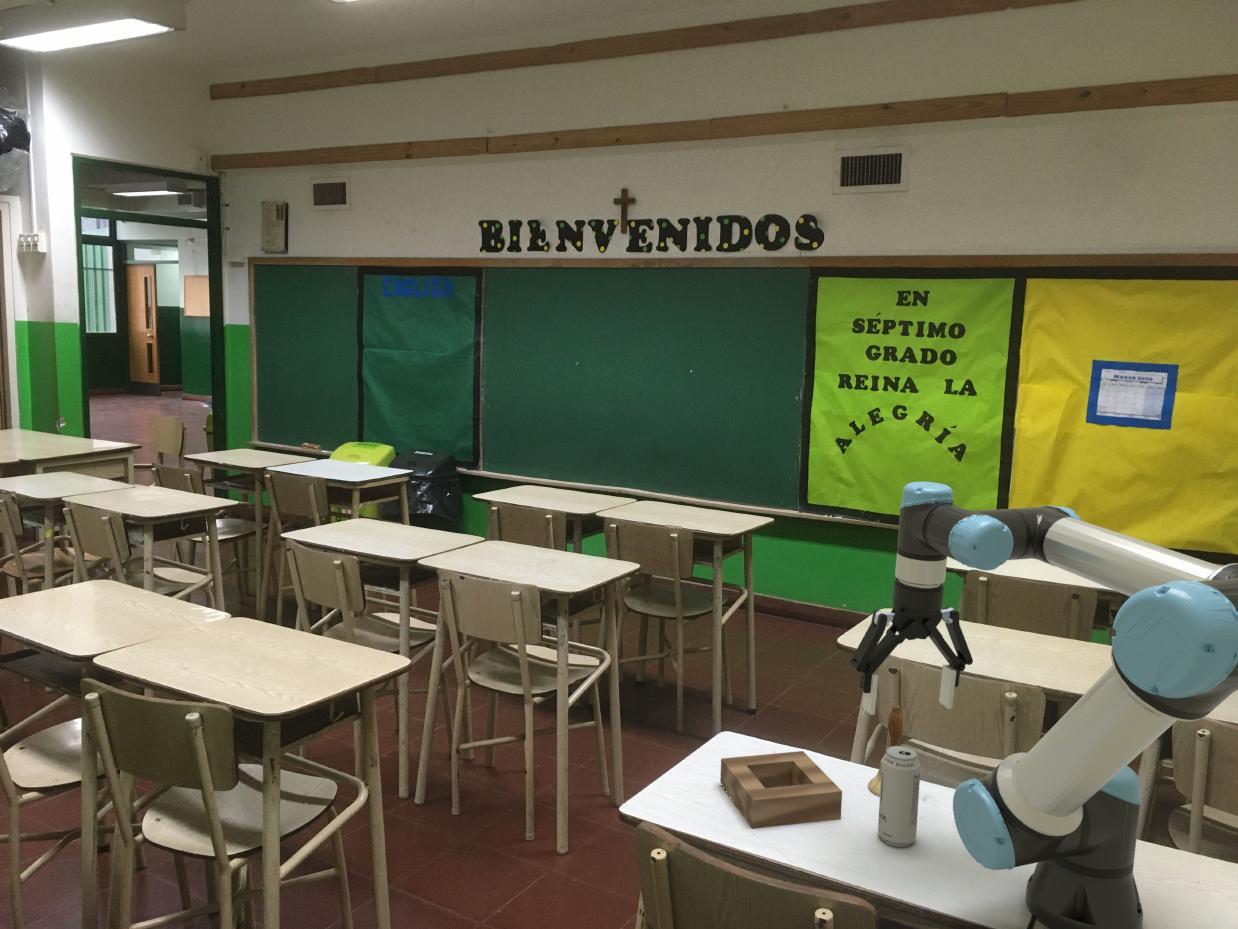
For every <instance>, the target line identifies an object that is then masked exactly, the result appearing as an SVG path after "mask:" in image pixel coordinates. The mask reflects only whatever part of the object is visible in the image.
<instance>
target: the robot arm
mask: <svg viewBox="0 0 1238 929" xmlns="http://www.w3.org/2000/svg"><path fill="white" fill-rule="evenodd" d="M954 501H955V500H954V490H953V489H952V488H951V486H950V485H947V484H944V483H939V482H932V481H913V482H909V483H907V484H905V486H904V487H903V488H902V495H901V502H900V506H899V521H898V532H897V533H898V534H897V547H896V548H897V550H896V560H895V572H894V576H895V577H896V578H895V580H894V582H893V591H892V592H893V593H892V609H891V611H890V612H883V611H881V610H879V609H874V610H873V613H872V616H871V622H870V624H869V626H868V628H867V630H866V632H865V634H864V635H863V637H862V638H861V641H860V642H859V644H858V646H857V648H856V650H855V652H854V654H853V655H852V657H851V659H850V661H849V665H850V666H851V667H852V668H853V669H854V670H856V671H857V672H858V673H860V676H859V677H860V679H859V689H860V690H861V692H863V696H862V698H863V699H862V709H863V710H865V712H867V713H868V714H869V715H870V716H872V715H873V716H874V715H876V706H877V705H876V704H877V692H878V685H879V684H878V682H879V675H878V674H877V673H876V672H877V670H878V668H880V666H881V665H883V663H884V661H885V660H887V658H888V657H889V656H890V655H891V653H893V651H894V650H895V649H896V648H897V647H898V645H901V644H903V643H904V641H905V640H908V641H913V640H916V639H918V640H927V639H928V637H929V639H930V641H931V642H932V643H933V644H934V646H935V647H936V649H938V651H939V652H940V654H941V655H942V656H943V658H944V659H945V661H947V663H948V664H947V663H944V664H943V663H942V670H941V679H940V680H941V681H940V690H939V699H938V700H939V701H938V702H939V703H940V704H941V705H943V706H944V707H945V708H946V709H947V710H953V707H954V699H955V698H954V697H955V688H958V687H959V685H960V676H961V675H960V674H961V672H964V671H966V670H965V669H966V665H967V666H971V665H973V663H974V662H973V661H974V660H973V656H972V654H971V651H970V649H969V645H968V643H967V641H966V637H965V634H964V633H963V629H962V627H961V625H960V612H959V611H958V610H956V609H954V608H953V607H952V606H949V605H946V606H945V607H944V609H942V607H943V605H944V604H943V603H944V594H945V586H944V585H943V583H944V582H946V576H947V574H946V573H947V562H948V558H949V559H952V560H954V561H957V562H958V563H960V564H962V566H966V567H968V568H972V569H974V568H975V569H977V570H980V571H988V572H989V571H994V570H996V569H997V568H998V567H1000V566H1002V565H1004V564H1005V563H1006V562H1007V561H1014V560H1015V561H1016V560H1028V559H1031V560H1037V561H1040V562H1043V563H1045V564H1048V565H1049V566H1053V567H1056V568H1059V569H1061V570H1064V571H1066V572H1069V573H1071V574H1073V575H1076V576H1078V577H1081V578H1083V579H1085V580H1088V581H1090V582H1093V583H1095V584H1098V585H1100V586H1103V587H1106V588H1108V589H1110V590H1112V591H1116V592H1118V593H1120V594H1122V595H1125V596H1127V597H1129V598H1128V599H1127V600H1125V601H1124V603H1123V604H1122V605H1121V607H1120V608H1119V610H1118V612H1117V613H1116V616H1115V618H1114V621H1113V624H1112V630H1114V631H1115V635H1114V636H1112V637H1111V649H1110V660H1111V663H1112V665H1110V667H1109V668H1108V669H1107V670H1106V671H1105V672H1104V674H1102V675H1101V676H1100V677H1099V678H1098V679H1097V681H1095V683H1093V685H1092V686H1091V687H1090V688H1088V690H1087V691H1086V692H1085V693H1084V694H1083V695H1082V696H1081V697H1080V698H1079V699H1078V700H1077V701H1076V702H1075V703H1074V704H1073V706H1072V705H1071V707H1070V709H1068V710H1067V712H1066V713H1065V714H1064V715H1063V716H1062V717H1061V718H1059V719H1058V721H1057V722H1056V723H1055V724H1054V725H1053V726H1052V727H1051V728H1050V729H1049V730H1048V731H1047V732H1046V733H1045V734H1044V735H1043V736H1042V737H1041V739H1039V740H1038V742H1037V743H1036V744H1035V745H1034V746H1033V747H1032V748H1031V749H1030V750H1029V751H1028V752H1017V753H1016V752H1015V753H1012V754H1010V755H1008V756H1006V757H1005V758H1004V759H1003V760H1002V761H1001V762H1000V763H999V764H998V765H997V766H996V767H995V768H994V769H992V771H991V772H990V774H988V775H986V776H984V777H981V778H970V779H967V780H965V781H963V782H961V783H959V785H957V787H956V789H955V790H954V793H953V797H952V811H953V812H952V813H953V818H954V823H955V827H956V830H957V833H958V836H959V838H960V840H961V842H962V844H963V845H964V847H965V849H966V851H967V852H968V853H969V855H970V856H971V857H972V859H974V860H975V862H976V863H978V864H980V865H981V866H982V867H984V868H985V869H988V870H992V871H1000V870H1008V871H1010V870H1013V869H1014V868H1017V867H1021V866H1022V867H1023V866H1027V865H1032V864H1036V865H1035V869H1034V871H1033V873H1032V874H1031V875H1030V876H1029V878H1028V880H1027V882H1026V890H1025V903H1026V905H1027V908H1028V910H1029V911H1030V912H1031V914H1032V915H1033V917H1035V919H1037V920H1039V922H1040V923H1042V924H1044V925H1045V926H1046V927H1048V928H1050V929H1143V924H1144V923H1143V922H1144V909H1143V906H1142V903H1141V899H1140V895H1139V890H1138V888H1137V887H1138V886H1137V882H1136V879H1135V875H1134V865H1135V854H1136V846H1137V839H1138V838H1137V837H1138V828H1139V821H1140V820H1139V819H1140V811H1141V810H1140V809H1141V805H1142V800H1141V787H1142V786H1141V783H1142V782H1141V780H1140V777H1139V775H1138V774H1137V773H1136V771H1135V770H1134V769H1132V768H1131V767H1130V766H1128V765H1129V764H1130V763H1131V762H1132V761H1134V759H1136V758H1137V757H1138V756H1139V755H1140V754H1142V753H1143V751H1145V750H1146V748H1148V747H1149V746H1150V745H1152V744H1153V743H1154V742H1155V741H1156V740H1157V739H1158V738H1159V737H1160V736H1161V735H1163V734H1164V733H1165V732H1166V731H1167V730H1168V729H1169V728H1171V726H1173V725H1174V724H1175V723H1176V722H1177V721H1181V722H1195V721H1199V720H1202V719H1203V718H1205V717H1206V716H1208V715H1209V714H1210V713H1212V712H1213V711H1214V710H1215V709H1216V708H1217V707H1219V705H1221V704H1222V703H1223V702H1225V700H1226V699H1227V698H1229V697H1230V696H1231V695H1232V694H1234V693H1235V692H1237V691H1238V563H1237V562H1235V563H1228V564H1225V565H1223V566H1222V565H1218V564H1216V563H1212V562H1208V561H1206V560H1203V559H1200V558H1196V557H1193V556H1190V555H1188V554H1185V553H1181V552H1180V551H1179V552H1178V551H1175V550H1172V549H1169V548H1166V547H1163V546H1160V545H1158V544H1157V545H1156V544H1154V543H1150V542H1147V541H1145V540H1141V539H1139V538H1136V537H1133V536H1129V535H1126V534H1124V533H1121V532H1117V531H1114V530H1111V529H1108V528H1104V527H1101V526H1099V525H1095V524H1092V523H1089V522H1086V521H1083V520H1082V518H1081V517H1080V516H1079V515H1078V514H1077V513H1076V512H1075V510H1073V509H1072V508H1068V507H1066V506H1053V505H1044V506H1043V505H1042V506H1034V507H1022V508H1020V507H1019V508H1000V509H999V508H998V509H985V510H984V509H981V510H979V509H978V510H974V509H973V510H972V509H966V508H964V507H960V506H957V505H955V504H954ZM941 621H943V622H944V624H945V628H946V630H947V632H948V634H949V637H950V640H951V642H952V646H953V648H954V650H953V649H952V648H951V646H950V645H949V644H948V642H947V641H946V639H945V638H944V637H943V636H944V635H943V634H942V633H941V631H940V630H939V629H938V625H939V624H940V622H941ZM890 622H891V623H892V624H891V625H890ZM887 627H889V628H887ZM886 628H887V630H886ZM897 632H898V634H896V633H897ZM884 633H885V635H884ZM883 635H884V636H883ZM881 638H882V639H881ZM954 651H955V652H954Z"/></svg>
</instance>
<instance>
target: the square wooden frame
mask: <svg viewBox="0 0 1238 929" xmlns="http://www.w3.org/2000/svg"><path fill="white" fill-rule="evenodd" d="M720 783H721V784H722V786H723V787H724V789H725V790H726V791H727V793H728V794H727V793H726V794H727V796H728V795H729V796H730V797H731V799H732V800H733V801H732V800H731V799H730V800H731V801H732V802H734V803H735V804H736V805H735V804H734V803H733V804H734V805H735V806H737V807H738V808H737V807H736V808H737V810H738V809H739V810H740V811H741V812H740V811H739V810H738V811H739V812H740V814H741V813H742V814H743V815H742V814H741V815H742V816H743V817H745V818H746V819H745V818H744V819H745V821H746V822H747V823H748V825H749V826H750V828H751V829H759V828H760V829H761V828H767V827H768V828H770V827H778V826H786V825H787V826H788V825H795V824H806V823H814V822H822V821H823V822H824V821H833V820H840V819H841V818H842V803H843V802H842V801H843V790H842V789H841V788H840V787H839V786H838V785H837V784H836V783H835V782H834V781H833V780H832V779H831V778H830V777H829V776H828V775H827V774H826V773H825V772H824V770H822V769H821V768H820V767H819V766H818V765H817V763H815V762H814V761H813V760H812V759H811V758H810V757H809V755H808V754H806V752H805V751H804V750H799V751H789V752H780V753H779V752H777V753H767V754H765V753H764V754H756V755H746V756H733V757H723V758H720ZM720 783H719V784H720ZM722 786H721V787H722ZM724 789H723V790H724ZM725 790H724V791H725ZM729 796H728V797H729ZM730 797H729V798H730Z"/></svg>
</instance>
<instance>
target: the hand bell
mask: <svg viewBox="0 0 1238 929" xmlns="http://www.w3.org/2000/svg"><path fill="white" fill-rule="evenodd" d="M891 707H892V708H891V711H889V712H890V713H889V716H888V721H887V727H888V728H887V730H888V735H889V747H891V746H900V738H901V735H902V733H903V728H904V727H903V726H904V720H903V719H904V718H903V714H902V711H901V710H902V709H901V706H900V705H897V704H894V705H892V706H891ZM881 768H882V759H881V760H880V764H879V768H878V772H877V773H876V775H875V776H874V777H873V778H871V779H870V780H869V782H868V784H867V787H868V790H869V791H870V792H871V793H873V794H874V795H875V796H877V797H879V798H880V786H881Z"/></svg>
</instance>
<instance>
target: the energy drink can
mask: <svg viewBox="0 0 1238 929" xmlns="http://www.w3.org/2000/svg"><path fill="white" fill-rule="evenodd" d="M885 751H886V753H884V755H883V757H882V758H881V760H882V768H881V786H880V797H879V805H878V806H879V807H878V822H877V823H878V824H877V833H878V835H879V836H880V838H881V840H882V841H883V842H884V843H885V844H887V845H889V846H892V847H895V848H896V847H897V848H906V847H909V846H911V845H912V844H913V842H914V841H915V840H916V839H917V830H918V829H917V827H918V815H919V812H918V811H919V797H920V796H919V795H920V783H921V781H920V780H921V767H922V764H921V762H920V759H919V758H918V752H917V751H916V750H914V749H913V748H911V747H907V746H905V745H904V746H903V745H899V746H891V747H890V746H889V747H887V748H886V750H885Z"/></svg>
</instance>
